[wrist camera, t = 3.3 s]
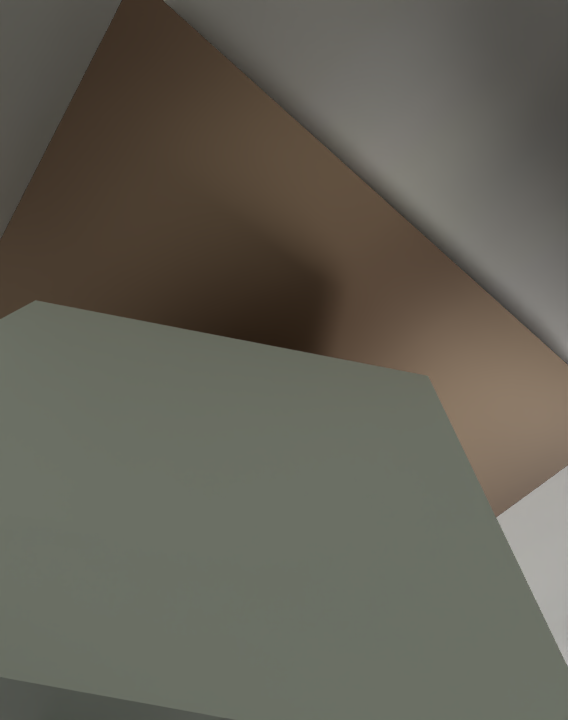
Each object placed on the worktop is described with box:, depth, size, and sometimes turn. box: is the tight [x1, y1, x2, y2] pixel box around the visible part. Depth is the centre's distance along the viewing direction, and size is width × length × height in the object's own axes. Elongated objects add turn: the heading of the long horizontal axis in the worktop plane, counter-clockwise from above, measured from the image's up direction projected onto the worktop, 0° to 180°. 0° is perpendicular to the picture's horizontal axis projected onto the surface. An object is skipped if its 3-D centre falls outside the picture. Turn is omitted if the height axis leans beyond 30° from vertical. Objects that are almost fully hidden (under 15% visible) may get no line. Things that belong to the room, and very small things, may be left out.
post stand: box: [0, 0, 568, 517], centre depth 8 cm, size 11×11×7 cm
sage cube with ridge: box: [0, 300, 568, 720], centre depth 6 cm, size 6×6×5 cm
